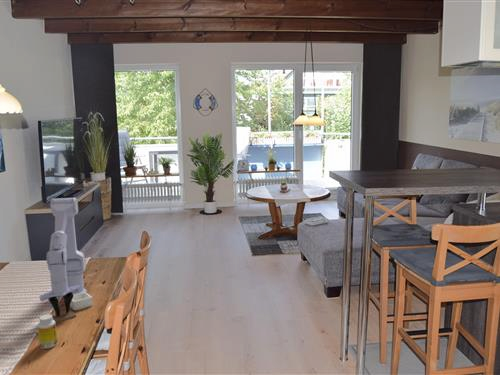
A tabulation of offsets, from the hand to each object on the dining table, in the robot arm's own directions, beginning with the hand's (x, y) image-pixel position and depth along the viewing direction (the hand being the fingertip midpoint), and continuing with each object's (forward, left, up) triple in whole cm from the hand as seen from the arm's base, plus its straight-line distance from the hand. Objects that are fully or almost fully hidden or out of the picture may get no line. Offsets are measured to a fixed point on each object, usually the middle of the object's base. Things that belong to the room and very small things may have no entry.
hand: (62, 313), depth 176 cm
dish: (-6, +9, -2) cm, 11 cm away
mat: (0, 0, -2) cm, 2 cm away
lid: (0, 0, -1) cm, 1 cm away
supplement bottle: (+19, -11, -2) cm, 22 cm away
